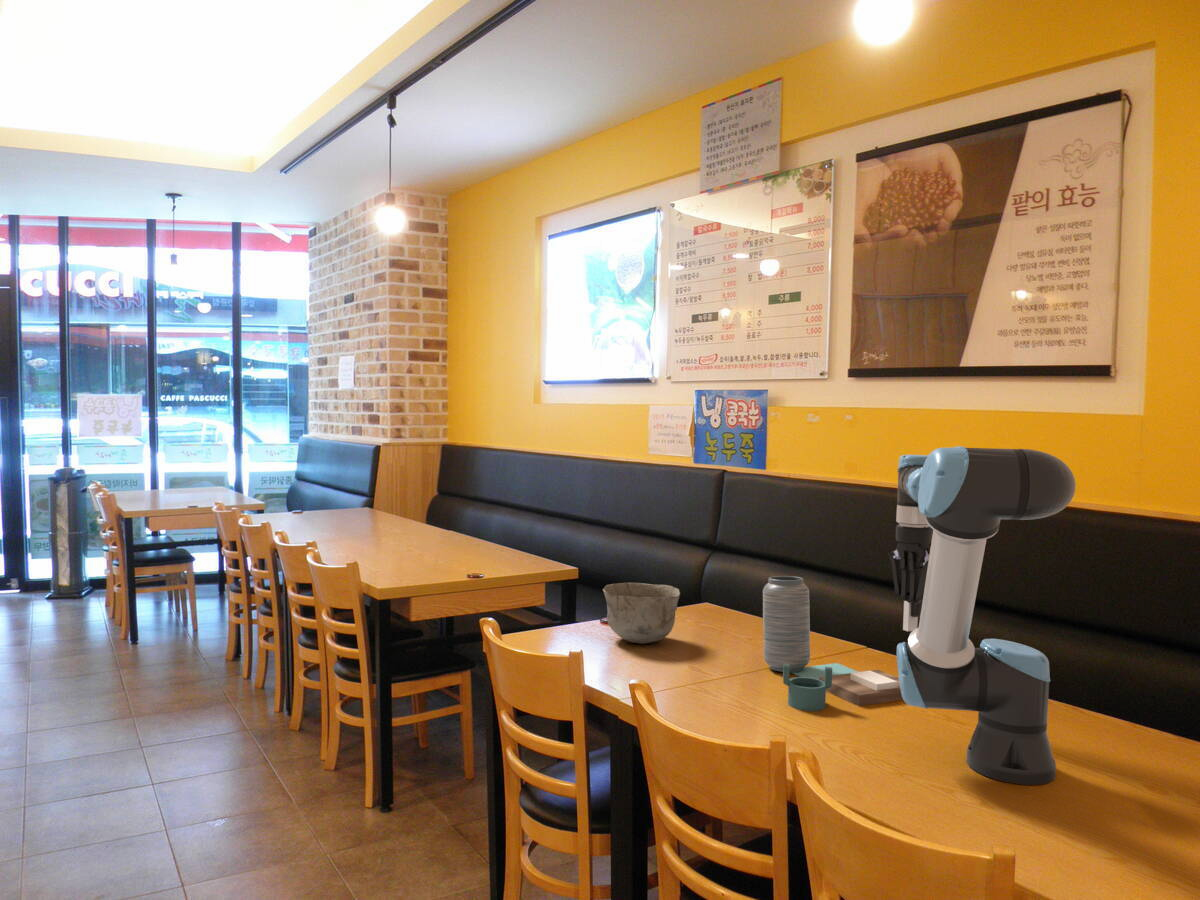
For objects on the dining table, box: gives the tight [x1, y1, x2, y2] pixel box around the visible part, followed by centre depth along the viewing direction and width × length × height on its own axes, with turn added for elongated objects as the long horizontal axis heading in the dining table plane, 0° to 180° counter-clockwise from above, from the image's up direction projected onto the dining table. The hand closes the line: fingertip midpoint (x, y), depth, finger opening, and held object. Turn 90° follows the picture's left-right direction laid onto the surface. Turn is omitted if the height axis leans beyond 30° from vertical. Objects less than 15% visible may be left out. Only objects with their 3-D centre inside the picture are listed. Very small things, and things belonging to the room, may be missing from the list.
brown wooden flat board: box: [819, 669, 903, 707], centre depth 207 cm, size 14×18×2 cm
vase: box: [762, 575, 811, 673], centre depth 225 cm, size 12×12×23 cm
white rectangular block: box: [850, 670, 897, 691], centre depth 206 cm, size 9×6×2 cm, turn 24°
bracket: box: [782, 664, 832, 712], centre depth 198 cm, size 9×9×9 cm
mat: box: [789, 662, 859, 679], centre depth 220 cm, size 14×16×1 cm
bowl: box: [602, 582, 681, 645], centre depth 249 cm, size 22×22×15 cm
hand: (910, 630), depth 196 cm, fingers closed
